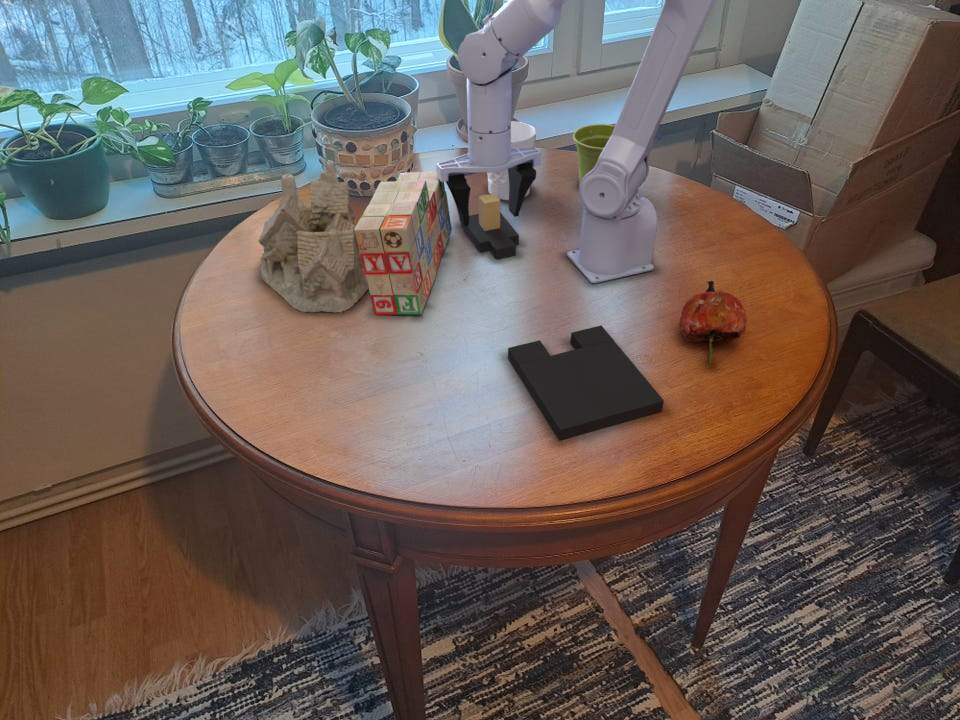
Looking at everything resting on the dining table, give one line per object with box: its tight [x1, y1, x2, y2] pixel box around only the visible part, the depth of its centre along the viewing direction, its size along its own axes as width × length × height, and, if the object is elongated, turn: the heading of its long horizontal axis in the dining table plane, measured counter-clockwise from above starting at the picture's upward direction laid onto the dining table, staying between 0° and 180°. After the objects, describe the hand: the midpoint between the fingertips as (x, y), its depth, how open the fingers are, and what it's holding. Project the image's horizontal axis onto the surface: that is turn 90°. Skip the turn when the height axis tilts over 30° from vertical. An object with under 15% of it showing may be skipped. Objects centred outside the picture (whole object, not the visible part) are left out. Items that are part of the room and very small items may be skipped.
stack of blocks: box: [354, 170, 453, 316], centre depth 92 cm, size 21×6×12 cm, turn 172°
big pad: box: [507, 324, 665, 441], centre depth 78 cm, size 14×12×2 cm
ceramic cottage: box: [257, 160, 369, 314], centre depth 90 cm, size 16×16×15 cm
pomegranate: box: [678, 280, 748, 366], centre depth 81 cm, size 7×7×10 cm
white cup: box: [486, 120, 537, 201], centre depth 111 cm, size 8×8×10 cm
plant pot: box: [572, 123, 616, 184], centre depth 112 cm, size 9×9×9 cm
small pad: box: [460, 193, 520, 260], centre depth 101 cm, size 10×6×6 cm, turn 20°
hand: (489, 218), depth 102 cm, fingers open, 7 cm apart
